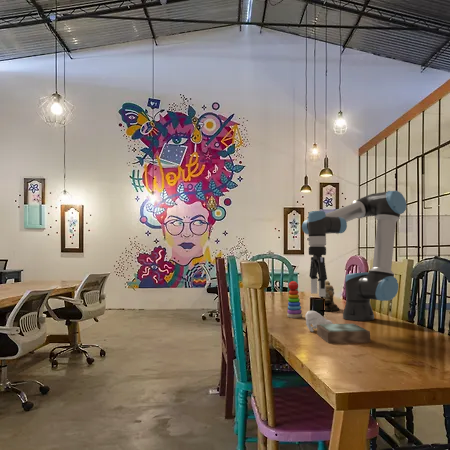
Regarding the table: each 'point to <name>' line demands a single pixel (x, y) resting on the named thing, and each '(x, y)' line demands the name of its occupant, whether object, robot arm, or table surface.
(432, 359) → the table surface
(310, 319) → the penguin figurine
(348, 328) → the square wooden tray
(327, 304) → the owl figurine
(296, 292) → the stacking toy
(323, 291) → the robot arm
